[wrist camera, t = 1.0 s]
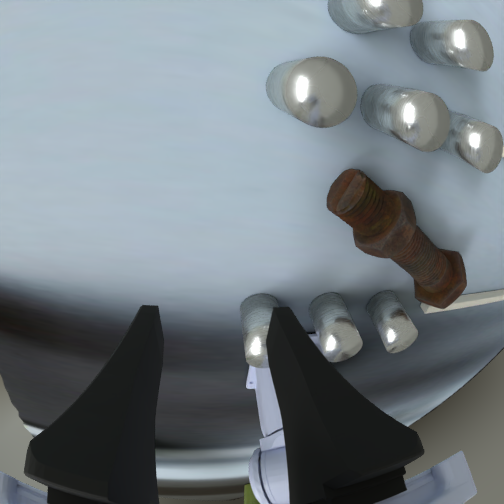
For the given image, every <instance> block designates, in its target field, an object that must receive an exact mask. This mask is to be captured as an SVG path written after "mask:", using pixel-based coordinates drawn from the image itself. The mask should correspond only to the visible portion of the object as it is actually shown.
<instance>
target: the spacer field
mask: <svg viewBox="0 0 504 504" xmlns="http://www.w3.org/2000/svg"><path fill="white" fill-rule="evenodd" d="M328 11H329V14H330V16H331V18H332V20H333V21H334V22H335V23H336V24H337V25H338V26H339V27H340V28H342V29H343V30H345V31H347V32H350V33H354V34H361V33H366V32H372V31H378V30H384V29H390V28H397V27H406V26H412V25H414V26H413V27H412V29H411V32H410V41H411V45H412V48H413V50H414V51H415V53H416V54H417V56H418V57H419V58H420V59H421V60H423V61H424V62H426V63H430V64H439V65H447V66H455V67H461V68H468V69H473V70H479V71H487V70H488V69H489V68H490V67H491V65H492V63H493V56H494V53H493V46H492V42H491V40H490V37H489V35H488V33H487V32H486V30H485V29H484V28H483V27H482V26H481V25H480V24H479V23H478V22H476V21H473V20H446V21H430V22H419V20H420V19H421V17H422V14H423V3H422V0H329V1H328ZM418 22H419V23H418ZM266 92H267V95H268V97H269V99H270V101H271V102H272V103H273V105H274V106H276V107H277V108H278V109H280V110H282V111H284V112H286V113H288V114H290V115H291V116H293V117H295V118H297V119H299V120H301V121H302V122H304V123H306V124H308V125H311V126H314V127H320V128H327V127H332V126H335V125H338V124H340V123H341V122H343V121H344V120H346V119H347V118H348V117H349V116H350V114H351V113H352V111H353V109H354V107H355V105H356V101H357V87H356V83H355V80H354V78H353V76H352V74H351V73H350V72H349V70H348V69H347V68H346V67H345V66H344V65H342V64H341V63H339V62H338V61H336V60H334V59H331V58H327V57H311V58H306V59H300V60H295V61H290V62H286V63H282V64H280V65H278V66H276V67H275V68H274V69H273V70H272V71H271V72H270V74H269V76H268V78H267V82H266ZM360 108H361V113H362V116H363V118H364V120H365V121H366V123H367V124H368V125H369V126H371V127H372V128H374V129H376V130H379V131H381V132H383V133H385V134H388V135H390V136H392V137H394V138H396V139H398V140H401V141H403V142H405V143H407V144H409V145H411V146H413V147H415V148H417V149H419V150H421V151H424V152H431V151H434V150H436V149H438V148H440V149H442V150H444V151H446V152H448V153H450V154H452V155H454V156H455V157H457V158H459V159H461V160H463V161H465V162H466V163H468V164H470V165H472V166H473V167H475V168H477V169H479V170H480V171H482V172H484V173H490V172H492V171H493V170H494V169H495V168H496V167H497V166H498V164H499V162H500V160H501V157H502V153H503V139H502V136H501V133H500V131H499V130H498V129H497V128H496V127H494V126H492V125H489V124H487V123H484V122H482V121H479V120H476V119H474V118H471V117H468V116H465V115H463V114H460V113H457V112H454V111H451V110H448V109H447V106H446V105H445V103H444V102H443V100H442V99H441V98H440V97H438V96H437V95H435V94H433V93H429V92H424V91H419V90H414V89H409V88H404V87H398V86H392V85H386V84H375V85H372V86H370V87H369V88H368V89H367V90H366V91H365V92H364V94H363V96H362V98H361V104H360ZM273 307H279V306H278V302H277V300H276V299H275V298H274V297H272V296H271V295H268V294H256V295H252V296H250V297H248V298H246V299H245V300H244V301H243V302H242V304H241V306H240V314H241V322H242V331H243V339H244V347H245V355H246V361H247V363H248V364H249V365H251V366H253V367H256V368H269V364H268V356H267V347H266V338H267V333H268V329H269V324H270V320H271V315H272V311H273ZM366 310H367V312H368V314H369V316H370V318H371V320H372V322H373V324H374V326H375V328H376V330H377V331H378V333H379V335H380V337H381V339H382V341H383V343H384V345H385V347H386V349H387V351H388V352H389V353H396V352H400V351H402V350H404V349H406V348H407V347H408V346H410V345H411V344H412V343H413V342H414V341H415V340H416V338H417V336H418V331H417V329H416V328H415V326H414V324H413V323H412V321H411V319H410V318H409V316H408V314H407V313H406V311H405V310H404V308H403V307H402V305H401V303H400V302H399V300H398V299H397V297H396V296H395V294H394V293H393V292H392V291H382V292H380V293H378V294H376V295H375V296H373V297H372V298H371V299H370V301H369V302H368V304H367V307H366ZM309 314H310V317H311V320H312V322H313V325H314V328H315V331H316V334H317V337H318V340H319V343H320V346H321V349H322V352H323V354H324V356H325V357H326V359H327V360H328V361H329V362H340V361H344V360H346V359H349V358H351V357H352V356H354V355H355V354H356V353H358V352H359V350H360V349H361V347H362V345H363V342H362V340H361V337H360V335H359V333H358V331H357V329H356V327H355V324H354V322H353V320H352V318H351V316H350V314H349V312H348V310H347V307H346V305H345V303H344V301H343V299H342V297H341V296H340V295H339V294H336V293H326V294H322V295H320V296H318V297H317V298H315V299H314V300H313V301H312V302H311V304H310V306H309Z"/></svg>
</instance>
